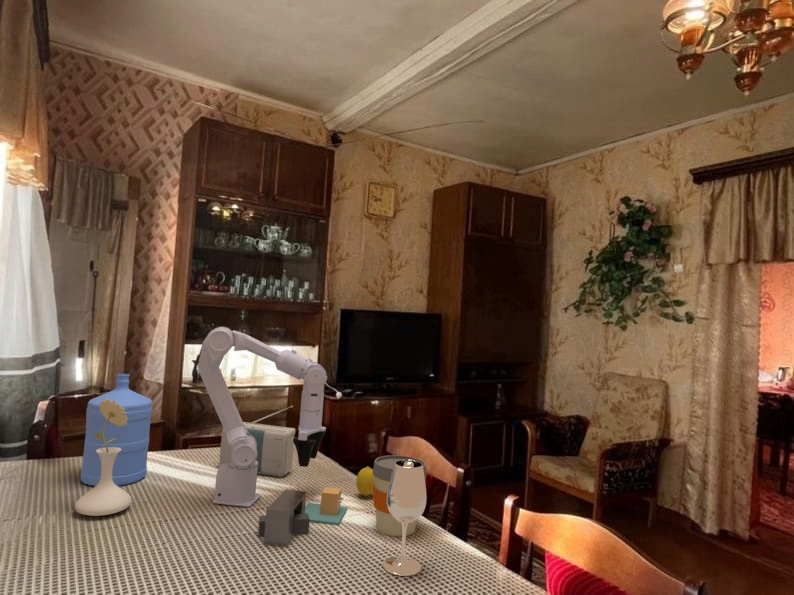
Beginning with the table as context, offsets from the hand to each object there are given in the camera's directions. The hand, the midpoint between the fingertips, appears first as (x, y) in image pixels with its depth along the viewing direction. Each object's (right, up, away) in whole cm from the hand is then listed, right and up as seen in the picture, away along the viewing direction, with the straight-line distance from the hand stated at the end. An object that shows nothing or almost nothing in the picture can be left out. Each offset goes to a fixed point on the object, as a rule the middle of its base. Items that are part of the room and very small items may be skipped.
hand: (307, 462), depth 132 cm
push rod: (-2, -9, -21) cm, 23 cm away
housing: (-1, -9, -21) cm, 23 cm away
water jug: (-53, -6, +5) cm, 54 cm away
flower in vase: (-44, -6, -16) cm, 47 cm away
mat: (+5, -9, -10) cm, 15 cm away
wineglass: (+24, -10, -33) cm, 42 cm away
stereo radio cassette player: (-19, -9, +19) cm, 29 cm away
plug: (+7, -9, -9) cm, 15 cm away
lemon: (+15, -11, +4) cm, 19 cm away
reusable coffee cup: (+23, -11, -15) cm, 29 cm away
